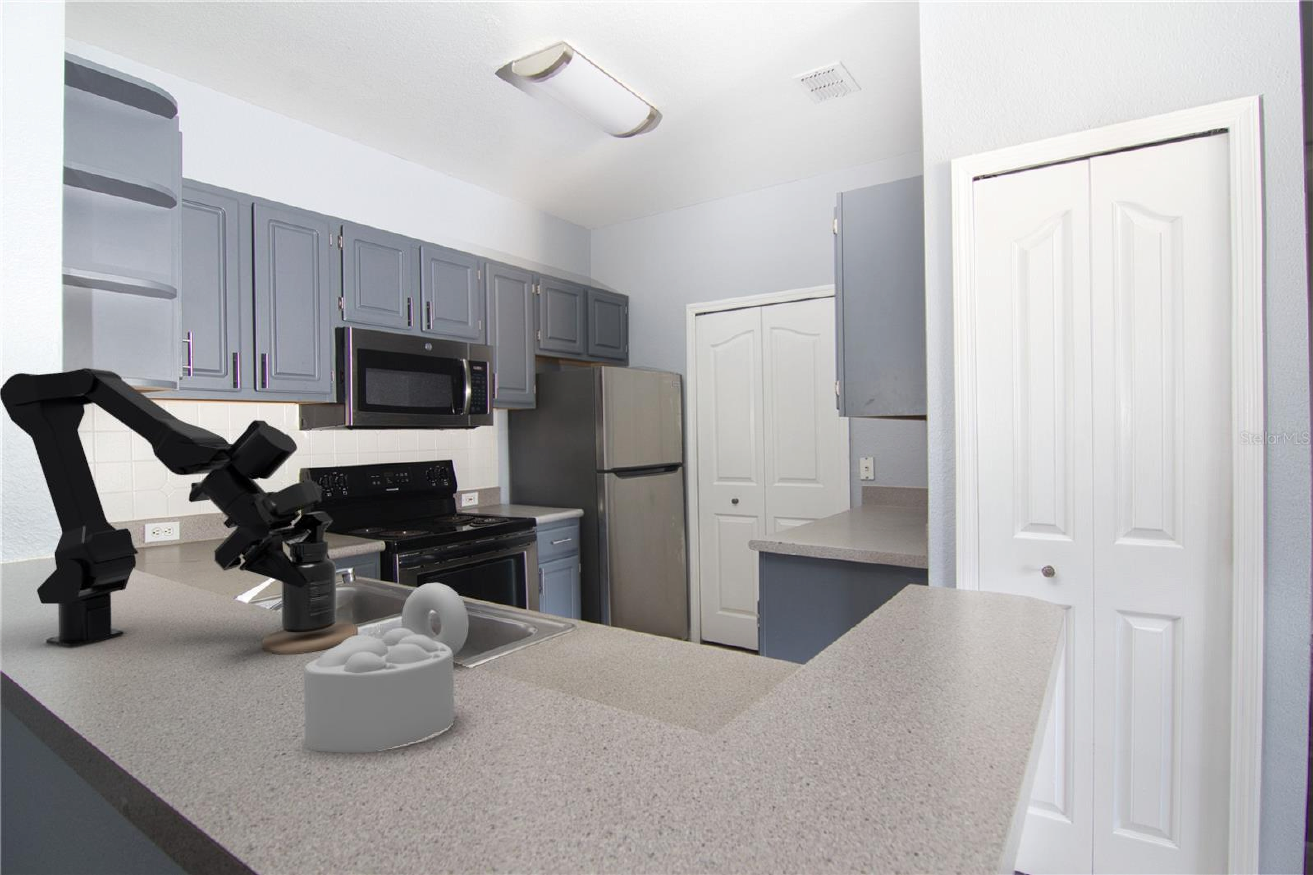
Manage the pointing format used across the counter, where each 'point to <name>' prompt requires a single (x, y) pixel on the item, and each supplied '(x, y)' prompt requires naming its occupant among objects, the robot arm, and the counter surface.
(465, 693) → the counter surface
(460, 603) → the donut
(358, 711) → the lumpy-topped squat cylinder
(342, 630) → the walnut trivet
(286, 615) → the supplement bottle
